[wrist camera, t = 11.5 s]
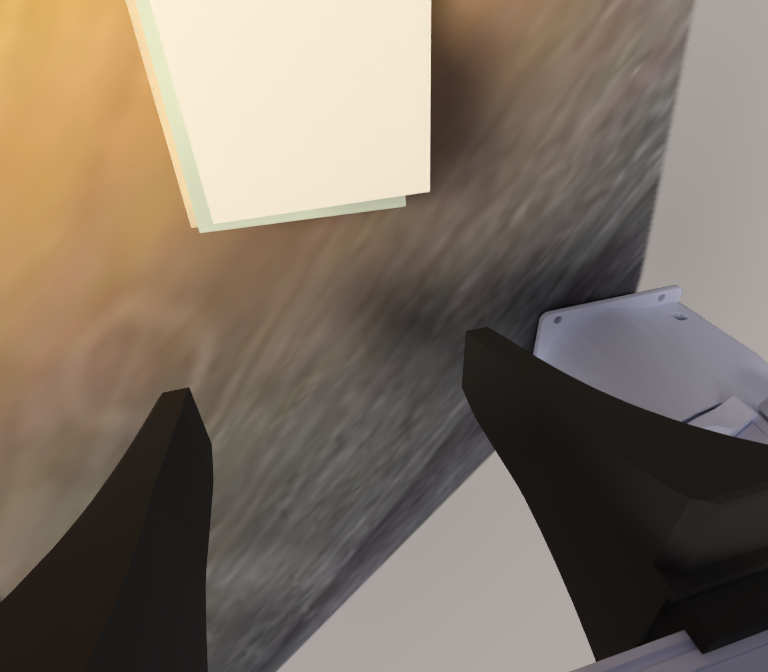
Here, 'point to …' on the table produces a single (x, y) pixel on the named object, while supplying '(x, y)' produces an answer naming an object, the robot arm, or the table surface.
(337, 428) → the table surface
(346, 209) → the sage top slab
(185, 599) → the robot arm
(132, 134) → the table surface
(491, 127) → the table surface
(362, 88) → the cream block
